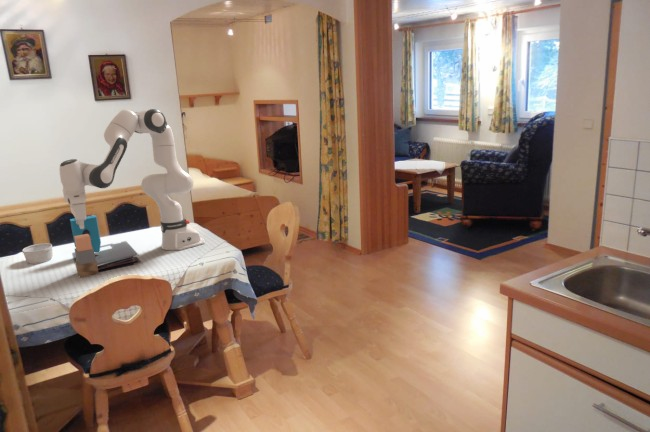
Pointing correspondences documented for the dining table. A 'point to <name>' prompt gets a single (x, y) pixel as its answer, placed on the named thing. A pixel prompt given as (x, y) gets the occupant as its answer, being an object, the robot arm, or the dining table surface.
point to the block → (91, 226)
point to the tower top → (85, 256)
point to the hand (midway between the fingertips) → (80, 226)
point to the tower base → (87, 269)
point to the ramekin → (38, 253)
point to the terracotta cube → (83, 242)
